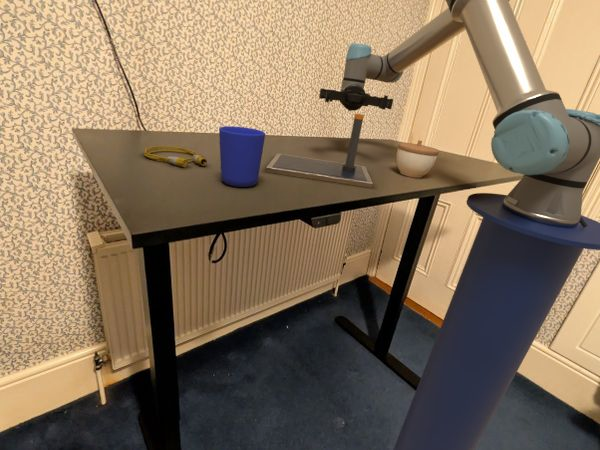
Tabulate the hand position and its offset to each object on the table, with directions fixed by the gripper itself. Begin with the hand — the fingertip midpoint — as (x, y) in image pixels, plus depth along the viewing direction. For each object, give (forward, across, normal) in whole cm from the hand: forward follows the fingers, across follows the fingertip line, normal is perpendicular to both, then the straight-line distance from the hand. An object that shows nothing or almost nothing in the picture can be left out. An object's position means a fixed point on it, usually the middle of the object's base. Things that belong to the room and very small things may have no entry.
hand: (358, 99), depth 82 cm
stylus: (+10, 0, -16) cm, 19 cm away
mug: (+28, +23, -17) cm, 40 cm away
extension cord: (+19, +40, -18) cm, 47 cm away
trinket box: (-2, -19, -17) cm, 26 cm away
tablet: (+10, +7, -17) cm, 21 cm away
